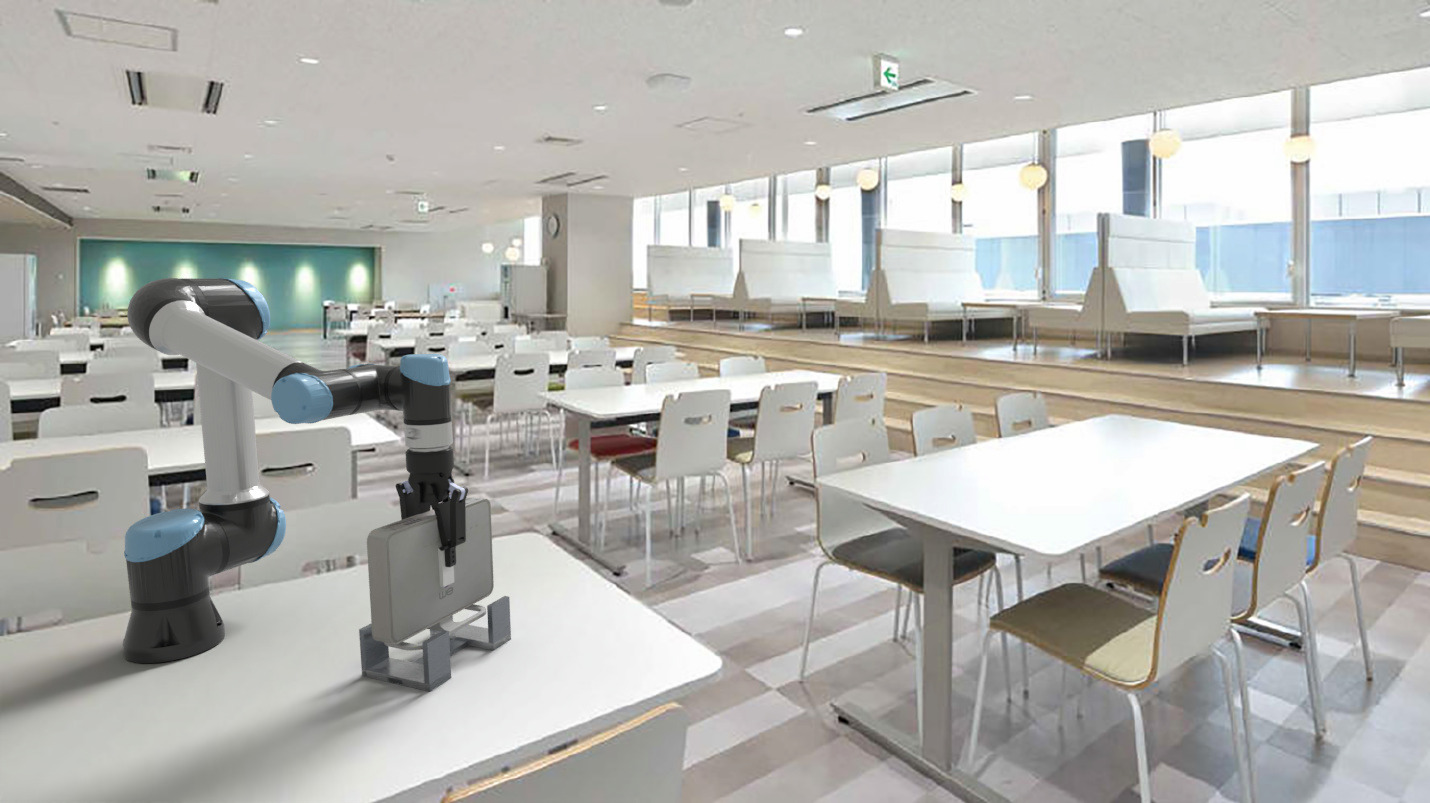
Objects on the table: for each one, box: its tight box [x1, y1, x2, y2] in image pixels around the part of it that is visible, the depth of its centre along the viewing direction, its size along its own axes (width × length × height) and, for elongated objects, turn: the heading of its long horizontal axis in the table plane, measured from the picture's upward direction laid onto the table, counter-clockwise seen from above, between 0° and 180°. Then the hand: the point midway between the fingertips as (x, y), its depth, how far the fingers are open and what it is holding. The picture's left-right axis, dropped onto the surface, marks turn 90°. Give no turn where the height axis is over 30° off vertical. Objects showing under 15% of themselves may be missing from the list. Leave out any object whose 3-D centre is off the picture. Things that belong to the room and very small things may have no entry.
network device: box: [366, 496, 495, 651], centre depth 139 cm, size 26×9×20 cm, turn 158°
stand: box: [358, 595, 512, 692], centre depth 141 cm, size 14×21×8 cm, turn 158°
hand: (436, 582), depth 140 cm, fingers closed on network device, 4 cm apart
